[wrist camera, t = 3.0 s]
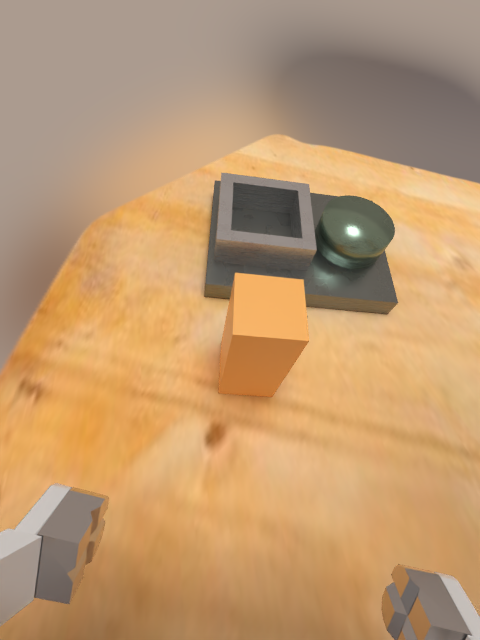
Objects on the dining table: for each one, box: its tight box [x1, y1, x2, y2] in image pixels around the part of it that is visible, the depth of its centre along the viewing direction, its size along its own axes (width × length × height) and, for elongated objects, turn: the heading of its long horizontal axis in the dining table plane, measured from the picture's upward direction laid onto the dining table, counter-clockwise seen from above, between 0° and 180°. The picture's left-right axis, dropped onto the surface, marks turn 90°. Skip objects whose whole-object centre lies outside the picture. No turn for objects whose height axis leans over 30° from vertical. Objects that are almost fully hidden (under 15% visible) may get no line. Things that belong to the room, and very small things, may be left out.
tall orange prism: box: [218, 273, 309, 397], centre depth 25 cm, size 4×4×10 cm
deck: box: [204, 173, 398, 314], centre depth 35 cm, size 18×14×5 cm
